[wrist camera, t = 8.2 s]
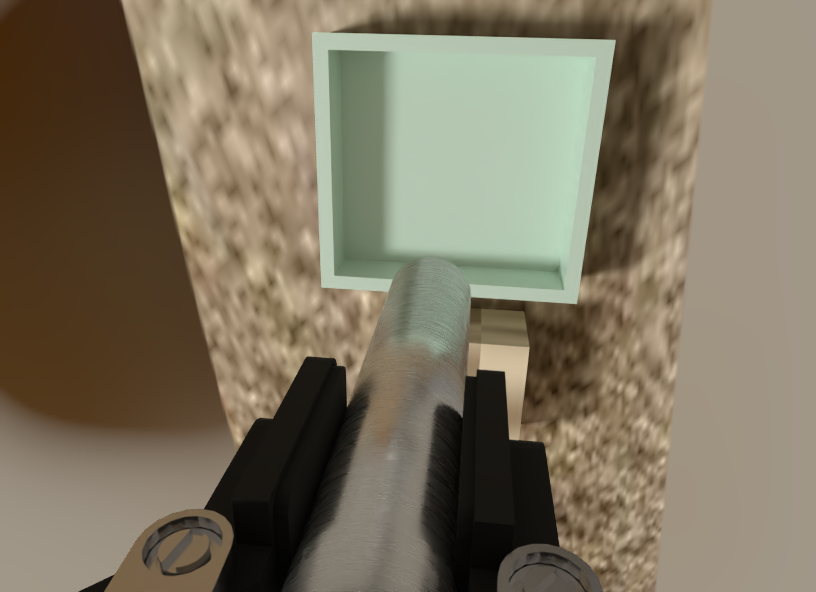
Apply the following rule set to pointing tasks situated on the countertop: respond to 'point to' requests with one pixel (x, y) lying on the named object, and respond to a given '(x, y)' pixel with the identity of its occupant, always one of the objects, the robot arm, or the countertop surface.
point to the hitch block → (501, 354)
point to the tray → (458, 158)
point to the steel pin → (396, 449)
